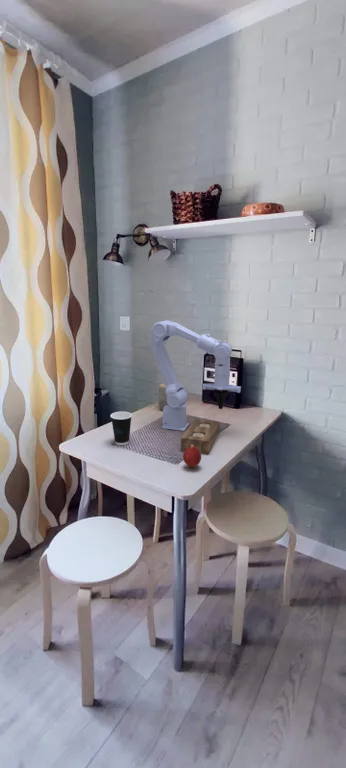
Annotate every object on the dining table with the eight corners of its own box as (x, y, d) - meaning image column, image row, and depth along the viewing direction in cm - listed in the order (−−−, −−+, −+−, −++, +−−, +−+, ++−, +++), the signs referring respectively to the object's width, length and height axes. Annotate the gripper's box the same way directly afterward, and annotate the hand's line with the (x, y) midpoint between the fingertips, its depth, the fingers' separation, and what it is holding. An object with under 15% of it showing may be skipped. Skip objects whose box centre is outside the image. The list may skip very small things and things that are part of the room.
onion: (190, 461, 130) (190, 439, 128) (204, 466, 127) (205, 444, 125) (179, 467, 126) (179, 445, 124) (193, 473, 122) (194, 450, 120)
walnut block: (180, 450, 139) (181, 437, 137) (194, 430, 157) (195, 419, 156) (208, 454, 136) (208, 441, 134) (219, 433, 154) (219, 421, 153)
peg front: (191, 447, 140) (191, 436, 139) (194, 443, 144) (194, 432, 143) (202, 449, 139) (202, 437, 138) (204, 444, 143) (204, 433, 142)
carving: (155, 410, 182) (155, 385, 179) (164, 405, 188) (164, 382, 185) (166, 412, 178) (166, 387, 175) (175, 408, 184) (175, 384, 181)
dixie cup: (131, 437, 150) (130, 410, 147) (134, 445, 142) (133, 417, 140) (110, 439, 148) (109, 412, 145) (112, 448, 141) (111, 419, 138)
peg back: (197, 437, 150) (198, 426, 148) (200, 433, 153) (200, 422, 152) (208, 438, 148) (208, 427, 147) (210, 434, 152) (210, 424, 151)
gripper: (201, 375, 147) (200, 409, 151) (239, 378, 143) (237, 413, 146) (205, 371, 154) (204, 404, 157) (242, 374, 149) (240, 407, 153)
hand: (220, 408), depth 152 cm, fingers closed
